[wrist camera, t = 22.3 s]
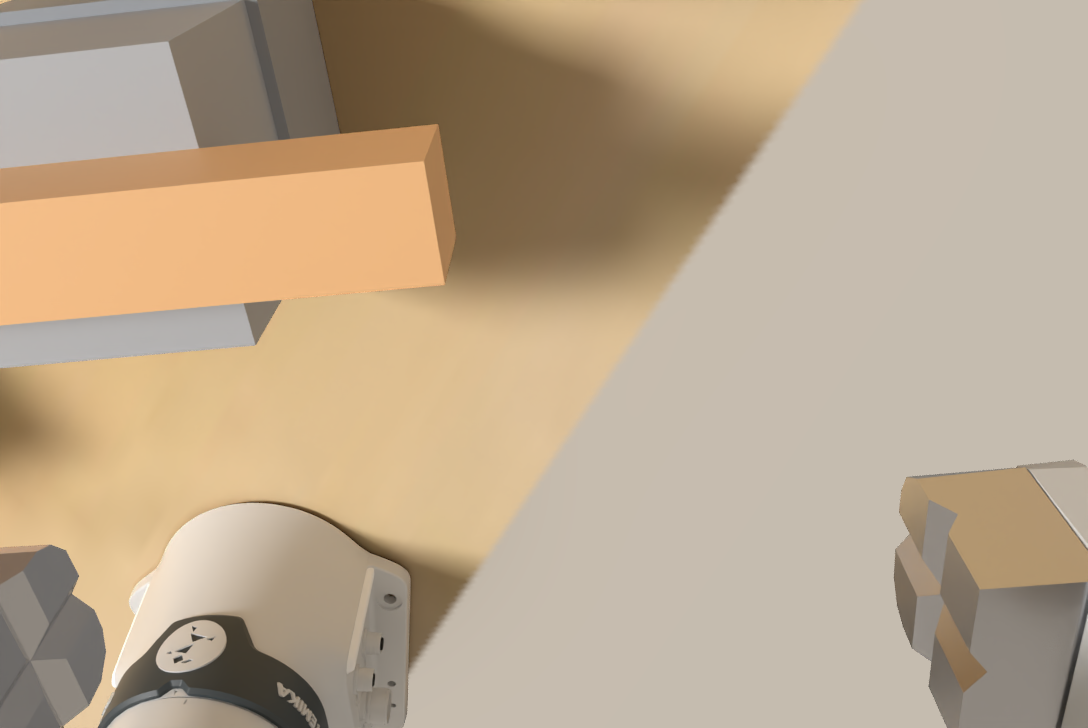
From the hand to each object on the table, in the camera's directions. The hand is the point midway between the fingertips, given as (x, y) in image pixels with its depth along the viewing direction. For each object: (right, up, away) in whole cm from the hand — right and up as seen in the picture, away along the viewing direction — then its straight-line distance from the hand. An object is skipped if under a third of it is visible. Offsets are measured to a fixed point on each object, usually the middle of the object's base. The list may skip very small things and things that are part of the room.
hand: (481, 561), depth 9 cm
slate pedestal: (-16, +15, +39) cm, 45 cm away
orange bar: (-15, +7, +24) cm, 29 cm away
